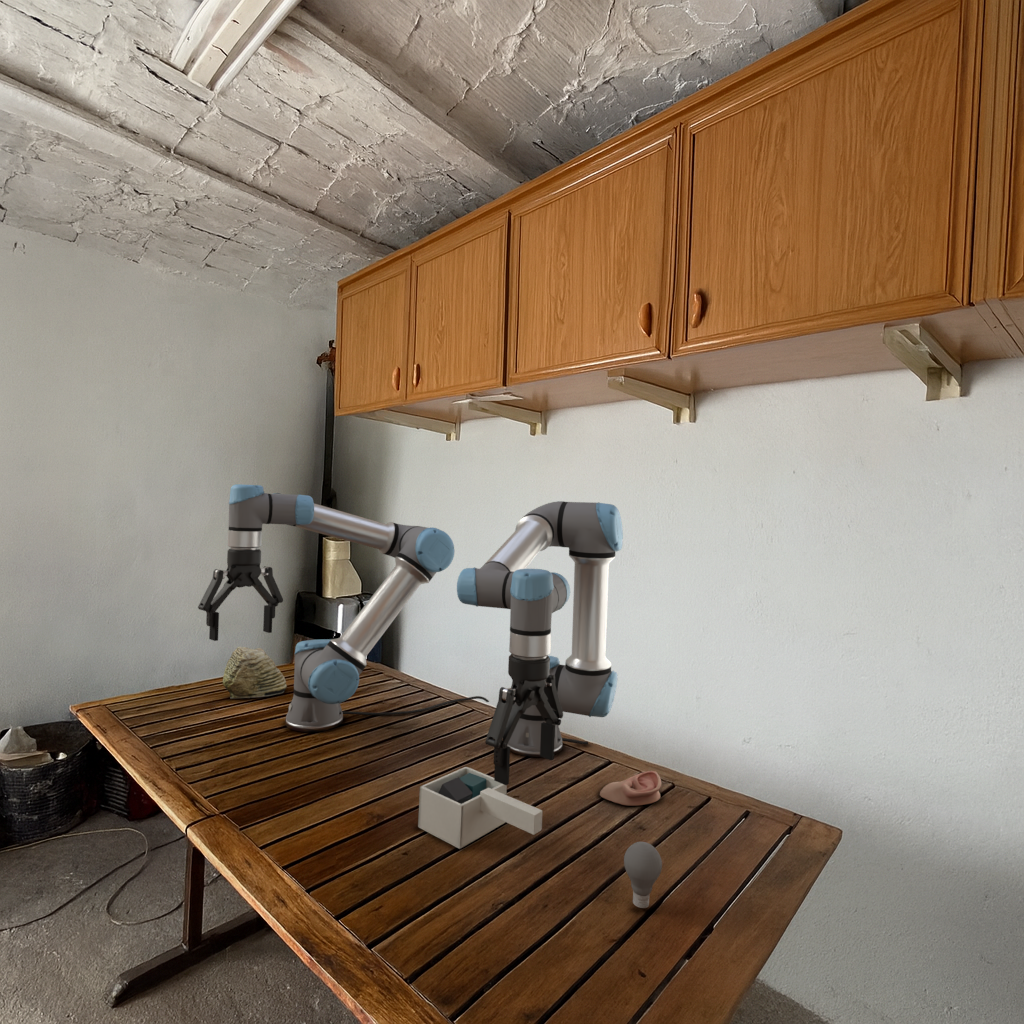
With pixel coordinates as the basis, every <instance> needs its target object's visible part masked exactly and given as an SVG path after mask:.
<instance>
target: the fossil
mask: <svg viewBox="0 0 1024 1024" xmlns="http://www.w3.org/2000/svg"><path fill="white" fill-rule="evenodd" d="M222 676H223V677H222V685H223V687H224V688H225V690H226V691H228V693H229V698H230V699H250V698H264V697H271V696H275V695H281V694H284V693H285V691H286V689H287V687H288V686H287V680H286V678H285V676H284V674H283V673H282V672H281V669H279V668H278V667H277V665H276V663H275V662H274V660H273V659H272V658H271V657H270V656H269V655H268V654H267V653H266V652H265V650H264V649H263V648H260V647H258V648H251V647H247V646H246V647H245V646H238V647H237V648H236V649H235V650H233V651H232V653H231V656H230V657H229V659H228V660H227V663H226V666H225V668H224V671H223V675H222Z"/></svg>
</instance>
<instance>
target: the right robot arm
mask: <svg viewBox="0 0 1024 1024" xmlns="http://www.w3.org/2000/svg"><path fill="white" fill-rule="evenodd" d="M515 525H516V526H515V530H514V532H513V533H512V534H511V535H510V536H509V537H508V538H507V539H506V540H505V541H504V542H503V543H502V544H501V546H500V547H498V548H497V550H496V551H495V552H494V553H493V554H492V555H491V556H490V557H489V558H488V559H487V560H486V561H485V562H484V564H483V565H482V566H481V567H480V568H477V567H466V568H463V569H462V570H461V571H460V573H459V575H458V577H457V582H456V595H457V598H458V600H459V601H460V603H462V604H464V605H470V606H473V607H476V608H477V607H484V608H494V609H503V610H510V614H509V619H510V620H509V647H508V652H509V653H510V655H508V670H507V674H508V676H509V677H510V679H511V681H512V682H511V686H510V687H508V688H507V687H503V686H501V687H500V688H499V691H498V700H497V704H496V707H495V709H494V713H493V716H492V719H491V722H490V726H489V729H488V732H487V735H486V737H485V745H487V746H490V747H493V765H494V773H493V775H494V776H493V778H494V781H497V782H499V783H501V784H504V785H507V786H508V785H510V764H511V763H510V761H511V760H510V759H511V753H512V754H516V755H519V756H523V757H529V758H543V759H546V760H549V761H553V760H554V759H555V755H556V754H558V753H560V752H562V750H563V742H565V743H573V744H576V745H584V746H588V745H589V741H587V740H586V741H584V740H578V739H573V738H568V737H567V738H566V737H562V733H561V730H560V725H561V724H562V719H563V717H564V713H569V714H573V715H574V714H575V715H581V716H585V717H586V716H587V717H589V718H591V717H595V718H605V717H607V716H608V715H609V714H610V712H611V710H612V707H613V704H614V700H615V695H616V691H617V686H618V673H617V671H614V670H612V662H611V661H610V660H609V659H608V658H607V656H606V652H607V651H606V650H607V625H608V599H609V597H608V596H609V571H610V569H609V568H610V563H611V562H612V561H613V560H614V559H616V552H620V551H622V548H623V540H624V533H623V530H624V529H623V522H622V517H621V514H620V511H619V509H618V507H617V506H616V505H614V504H611V503H605V502H599V501H598V502H584V501H583V502H581V501H563V500H561V501H560V500H559V501H557V500H556V501H552V502H548V503H545V504H542V505H539V506H537V507H536V508H534V509H532V510H530V511H529V512H527V513H526V514H525V515H523V516H522V517H521V518H520V519H519V520H518V521H517V524H515ZM549 547H557V548H559V547H560V548H568V556H569V558H570V559H571V560H572V561H573V562H574V567H573V568H574V570H573V571H574V572H573V601H572V602H573V603H572V635H571V654H570V655H569V656H568V657H567V658H566V659H565V663H564V664H560V663H561V662H560V658H559V657H557V656H553V655H550V654H551V650H552V649H551V648H552V647H551V646H552V616H553V613H555V612H557V611H560V610H561V609H563V607H565V604H567V602H568V601H569V599H570V596H571V587H570V583H569V581H568V579H567V578H566V577H564V575H563V574H560V573H558V572H555V571H553V572H551V571H550V570H548V569H540V568H528V566H530V565H531V563H532V562H533V560H534V559H535V558H536V556H538V554H539V553H540V552H542V551H545V550H546V549H548V548H549Z"/></svg>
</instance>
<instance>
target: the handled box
mask: <svg viewBox="0 0 1024 1024" xmlns="http://www.w3.org/2000/svg"><path fill="white" fill-rule="evenodd" d="M468 773H471V774H474V775H477V776H480V777H482V778H485V779H486V789H485V790H483V791H481V792H480V795H478V796H476V797H474V798H472V799H470V800H468V801H466V802H464V803H462V804H460V803H458V802H456V801H454V800H452V799H449V798H447V797H445V796H443V795H441V794H439V791H440V788H441V786H442V784H444V783H446V782H448V781H451V780H453V779H455V778H457V777H459V778H460V777H462V776H464V775H466V774H468ZM507 791H508V785H504V784H501V783H499V782H497V781H494V776H491V775H488V774H486V773H484V772H481V771H479V770H476V769H474V768H472V767H468V766H464V767H462V768H459V769H457V770H455V771H452V772H450V773H448V774H445V775H443V776H440V777H439V778H436V779H434V780H432V781H430V782H427V783H425V784H422V785H420V786H419V793H418V794H419V797H418V798H419V799H418V818H417V819H418V821H417V828H418V829H420V830H423V831H424V832H426V833H428V834H430V835H432V836H434V837H436V838H438V839H439V840H441V841H443V842H445V843H447V844H449V845H451V846H452V847H455V848H457V849H459V850H461V849H462V848H464V847H466V846H468V845H469V844H471V843H473V842H475V841H476V840H478V839H480V838H481V837H483V836H485V835H487V834H488V833H490V832H491V831H493V830H495V829H496V828H499V827H500V826H502V825H504V824H506V823H507V824H509V825H511V826H513V827H515V828H517V829H520V830H522V831H524V832H526V833H528V834H531V835H533V836H535V835H536V834H538V833H539V832H541V831H542V830H543V810H542V809H540V808H537V807H535V806H533V805H530V804H528V803H525V802H524V801H522V800H519V799H516V798H514V797H512V796H509V795H507V794H508V792H507Z"/></svg>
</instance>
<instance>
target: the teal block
mask: <svg viewBox="0 0 1024 1024" xmlns="http://www.w3.org/2000/svg"><path fill="white" fill-rule="evenodd" d="M460 779H461V780H462V782H463V783H464V784H465V785H466V786H467V787H468V788H469V789H470V790H471V792H472V793H473V794H472V796H471V798H470V799H472V798H474V797H476V796H478V795H480V792H481V791H483V790H485V789H486V779H485V778H482V777H480V776H477V775H474V774H471V773H468V774H466V775H464V776H462V777H460Z"/></svg>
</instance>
